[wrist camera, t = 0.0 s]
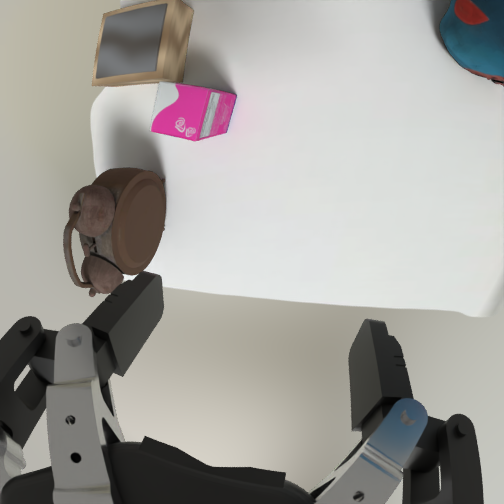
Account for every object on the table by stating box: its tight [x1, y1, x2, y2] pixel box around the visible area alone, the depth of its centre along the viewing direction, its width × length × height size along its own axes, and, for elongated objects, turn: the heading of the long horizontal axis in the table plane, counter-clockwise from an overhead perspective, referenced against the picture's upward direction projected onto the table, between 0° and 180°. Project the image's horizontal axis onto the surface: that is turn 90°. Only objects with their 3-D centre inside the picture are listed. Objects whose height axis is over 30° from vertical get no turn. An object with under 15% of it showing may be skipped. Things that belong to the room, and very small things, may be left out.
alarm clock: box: [63, 168, 166, 297], centre depth 33 cm, size 15×7×20 cm, turn 173°
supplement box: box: [149, 81, 237, 141], centre depth 29 cm, size 6×6×12 cm
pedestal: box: [92, 0, 194, 87], centre depth 28 cm, size 12×12×6 cm
